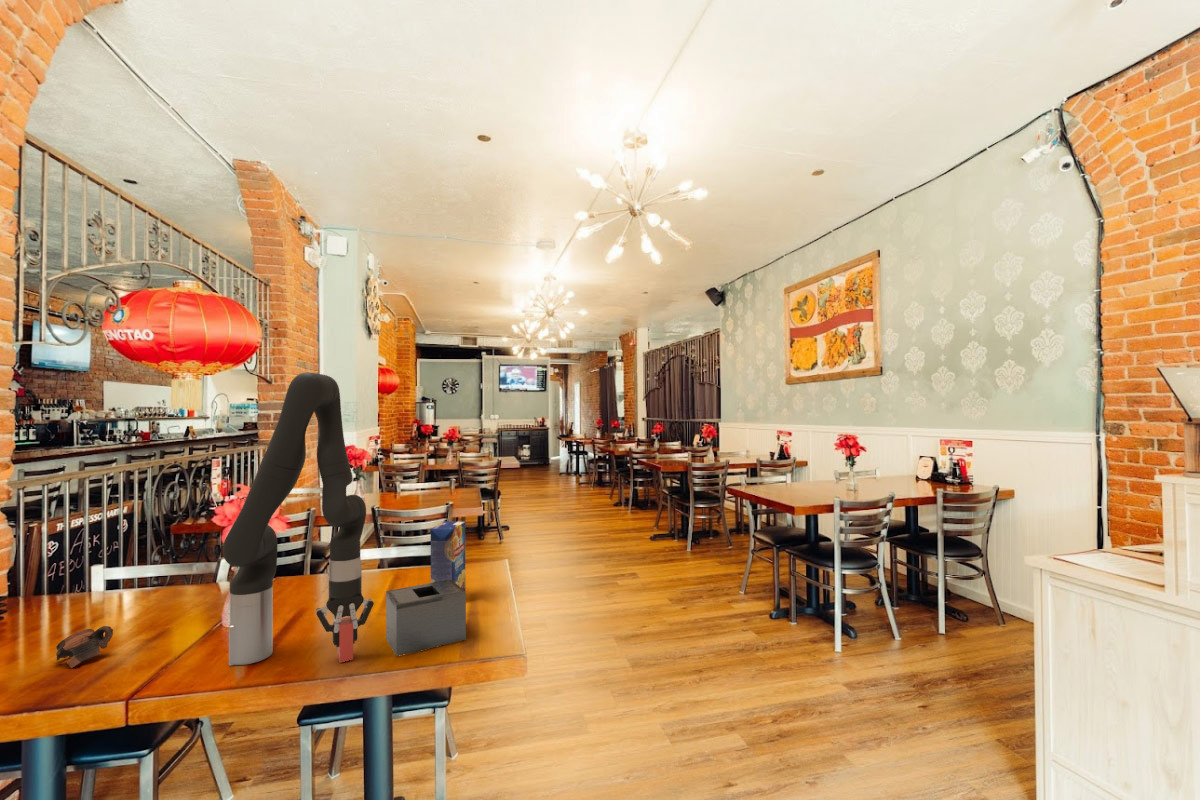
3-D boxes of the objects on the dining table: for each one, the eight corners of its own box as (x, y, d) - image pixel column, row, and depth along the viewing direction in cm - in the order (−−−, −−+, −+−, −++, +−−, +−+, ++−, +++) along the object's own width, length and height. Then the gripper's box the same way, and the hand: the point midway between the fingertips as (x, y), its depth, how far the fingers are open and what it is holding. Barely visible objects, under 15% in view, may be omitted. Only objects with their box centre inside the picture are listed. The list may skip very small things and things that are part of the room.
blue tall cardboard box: (453, 604, 172) (452, 529, 172) (430, 603, 173) (430, 529, 173) (465, 591, 184) (465, 521, 184) (444, 591, 185) (444, 521, 185)
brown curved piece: (55, 678, 128) (40, 651, 130) (83, 678, 137) (69, 652, 139) (109, 640, 133) (94, 614, 135) (133, 643, 141) (119, 618, 144)
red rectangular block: (339, 662, 132) (339, 626, 132) (337, 654, 136) (337, 619, 136) (353, 659, 134) (353, 623, 134) (350, 651, 138) (350, 616, 138)
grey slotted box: (396, 657, 136) (396, 605, 136) (386, 638, 147) (386, 591, 147) (465, 640, 145) (465, 592, 145) (451, 624, 156) (451, 579, 156)
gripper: (315, 584, 129) (315, 657, 128) (377, 574, 136) (377, 643, 136) (312, 576, 135) (312, 645, 135) (372, 567, 142) (372, 632, 142)
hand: (345, 644), depth 135 cm, fingers closed on red rectangular block, 3 cm apart
